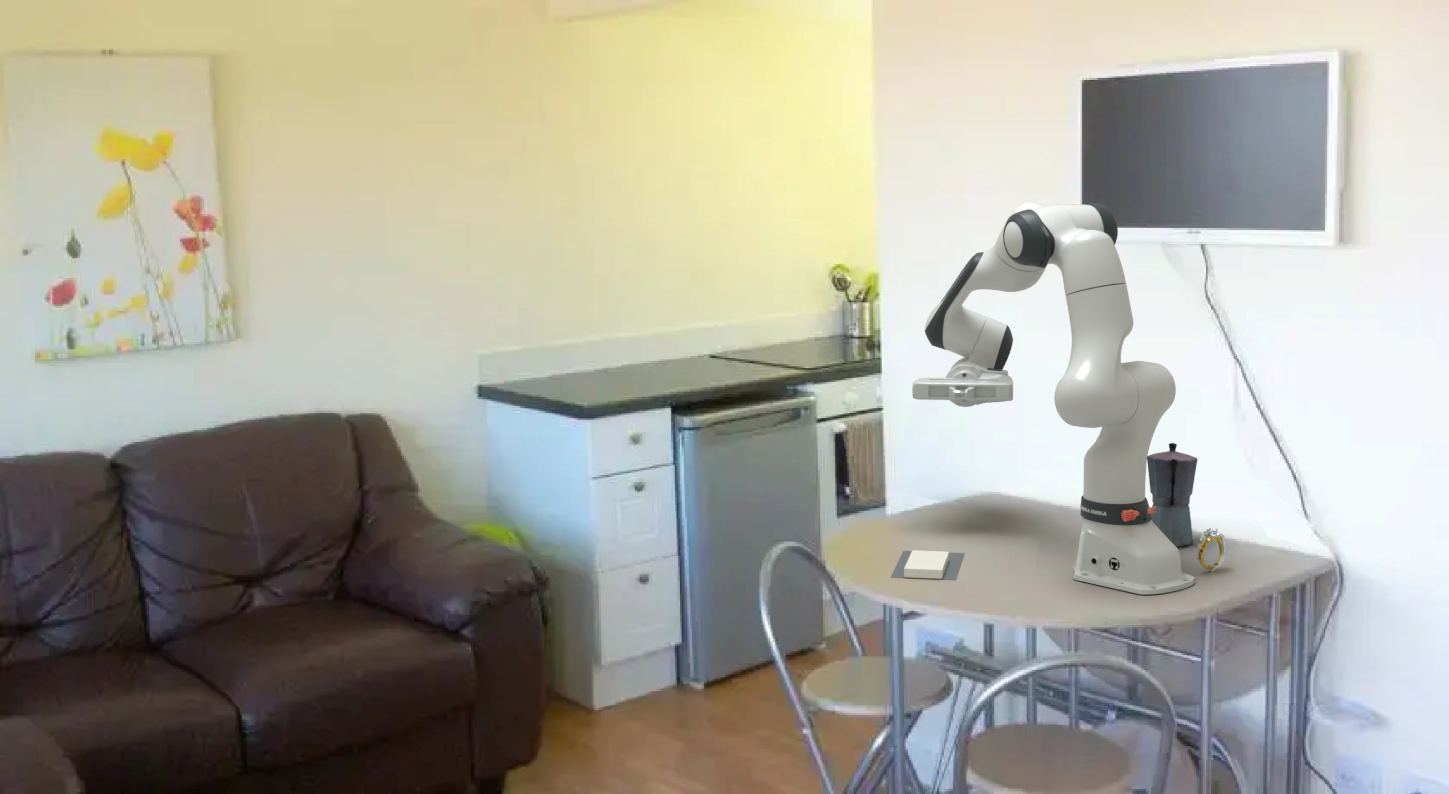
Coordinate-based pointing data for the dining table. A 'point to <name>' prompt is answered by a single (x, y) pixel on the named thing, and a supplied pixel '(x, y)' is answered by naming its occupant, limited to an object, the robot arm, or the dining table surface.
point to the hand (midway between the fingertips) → (959, 395)
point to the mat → (949, 574)
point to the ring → (1202, 547)
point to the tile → (926, 564)
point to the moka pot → (1172, 493)
